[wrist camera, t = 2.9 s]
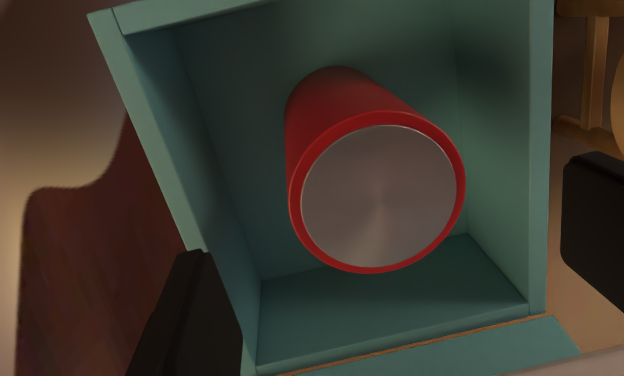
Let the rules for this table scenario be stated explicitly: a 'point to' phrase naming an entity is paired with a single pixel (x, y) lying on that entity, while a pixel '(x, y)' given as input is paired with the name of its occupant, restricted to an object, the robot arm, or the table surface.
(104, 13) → the cooler
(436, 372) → the lid
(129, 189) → the table surface
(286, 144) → the soda can
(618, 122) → the stool
